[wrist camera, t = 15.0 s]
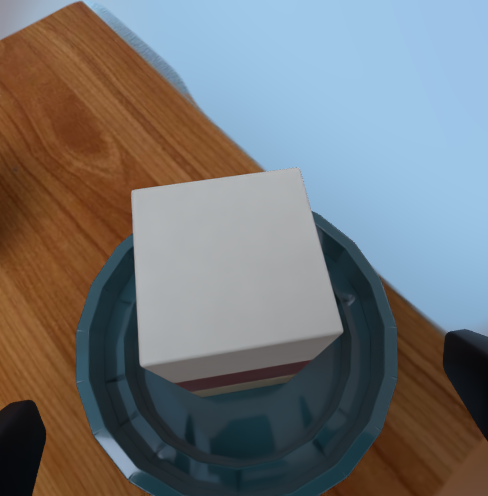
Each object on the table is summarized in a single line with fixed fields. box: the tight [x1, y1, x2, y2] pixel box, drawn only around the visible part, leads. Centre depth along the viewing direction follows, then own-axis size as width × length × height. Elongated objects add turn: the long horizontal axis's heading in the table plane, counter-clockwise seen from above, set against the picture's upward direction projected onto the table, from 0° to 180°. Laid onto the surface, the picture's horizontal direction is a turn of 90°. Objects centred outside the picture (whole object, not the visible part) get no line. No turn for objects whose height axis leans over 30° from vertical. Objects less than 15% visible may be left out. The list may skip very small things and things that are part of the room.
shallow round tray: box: [76, 211, 398, 496], centre depth 19 cm, size 14×14×4 cm
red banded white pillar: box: [131, 167, 343, 397], centre depth 15 cm, size 5×5×12 cm
